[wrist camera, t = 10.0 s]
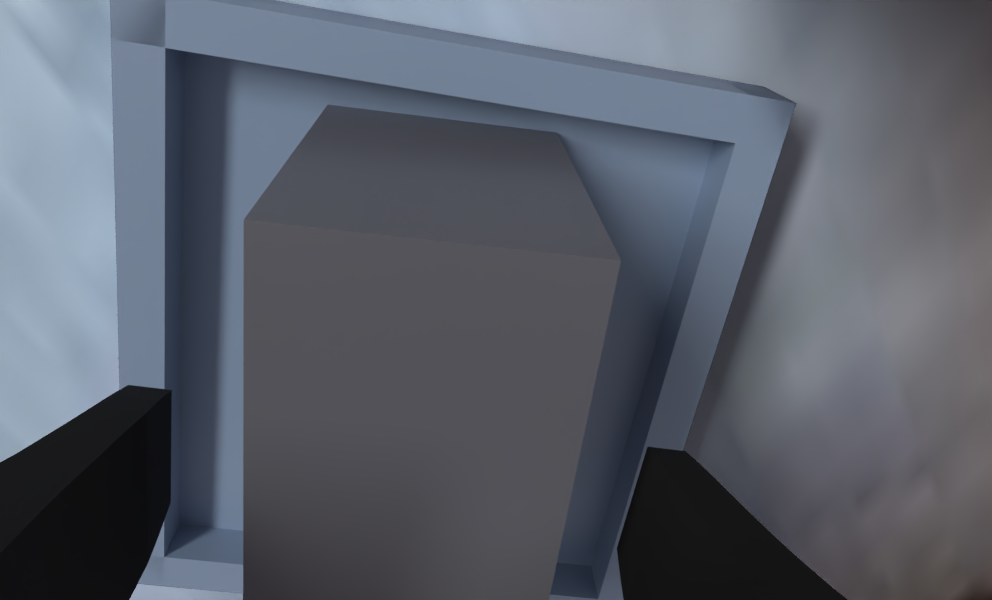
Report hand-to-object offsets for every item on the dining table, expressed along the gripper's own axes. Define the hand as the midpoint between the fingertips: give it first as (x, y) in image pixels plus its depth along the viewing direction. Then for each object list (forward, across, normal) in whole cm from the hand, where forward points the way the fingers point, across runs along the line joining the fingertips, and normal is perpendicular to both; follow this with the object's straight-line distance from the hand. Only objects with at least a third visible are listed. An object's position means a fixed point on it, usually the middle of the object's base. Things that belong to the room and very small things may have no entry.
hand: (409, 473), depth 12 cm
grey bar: (+4, 0, -1) cm, 4 cm away
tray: (+4, 0, 0) cm, 5 cm away
